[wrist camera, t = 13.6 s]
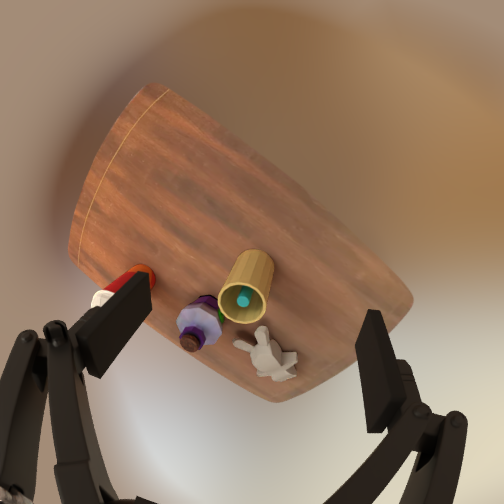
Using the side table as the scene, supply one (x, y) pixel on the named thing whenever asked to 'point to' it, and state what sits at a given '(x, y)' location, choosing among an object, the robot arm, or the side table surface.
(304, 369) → the side table surface
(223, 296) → the can
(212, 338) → the potion bottle
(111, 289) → the paper cup
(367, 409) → the robot arm
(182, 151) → the side table surface
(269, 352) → the bunny figurine
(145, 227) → the side table surface
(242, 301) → the teal cylinder rod
